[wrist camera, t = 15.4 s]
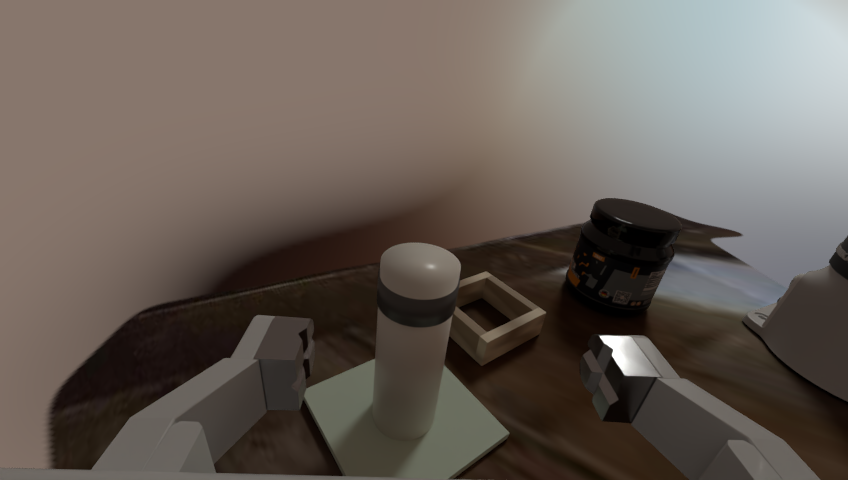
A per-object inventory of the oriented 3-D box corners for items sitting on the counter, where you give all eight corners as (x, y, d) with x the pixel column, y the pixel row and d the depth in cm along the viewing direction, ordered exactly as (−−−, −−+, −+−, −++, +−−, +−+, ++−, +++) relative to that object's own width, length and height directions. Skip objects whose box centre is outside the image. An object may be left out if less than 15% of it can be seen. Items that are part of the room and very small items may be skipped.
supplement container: (567, 265, 56) (592, 189, 50) (644, 288, 52) (680, 210, 47) (558, 301, 47) (587, 214, 42) (649, 332, 44) (695, 242, 38)
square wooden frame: (481, 291, 47) (486, 271, 46) (539, 334, 41) (546, 312, 40) (425, 313, 42) (428, 291, 41) (481, 366, 36) (487, 342, 34)
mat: (418, 343, 38) (419, 339, 37) (507, 437, 29) (509, 432, 29) (301, 395, 31) (301, 390, 30) (375, 537, 23) (375, 532, 22)
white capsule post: (411, 375, 33) (428, 235, 26) (449, 419, 30) (479, 271, 23) (359, 402, 30) (363, 253, 23) (394, 455, 27) (411, 296, 20)
